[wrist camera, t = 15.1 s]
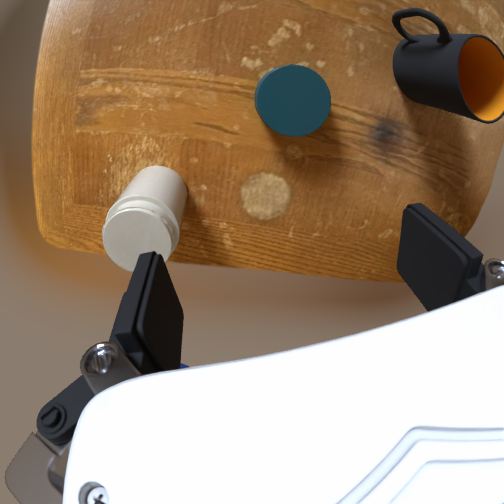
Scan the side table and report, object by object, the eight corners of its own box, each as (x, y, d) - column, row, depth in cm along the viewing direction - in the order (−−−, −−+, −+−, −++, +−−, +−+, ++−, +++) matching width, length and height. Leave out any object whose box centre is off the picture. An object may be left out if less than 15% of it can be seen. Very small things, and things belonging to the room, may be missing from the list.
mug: (396, -2, 20) (458, -17, 11) (457, 76, 25) (520, 90, 16) (354, 38, 23) (412, 29, 14) (422, 118, 28) (484, 142, 19)
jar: (196, 178, 30) (189, 222, 21) (175, 230, 32) (163, 286, 24) (138, 157, 28) (107, 193, 19) (121, 211, 30) (92, 262, 22)
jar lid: (251, 66, 24) (254, 65, 22) (322, 65, 24) (330, 65, 23) (256, 134, 28) (259, 138, 26) (324, 131, 28) (331, 135, 26)
